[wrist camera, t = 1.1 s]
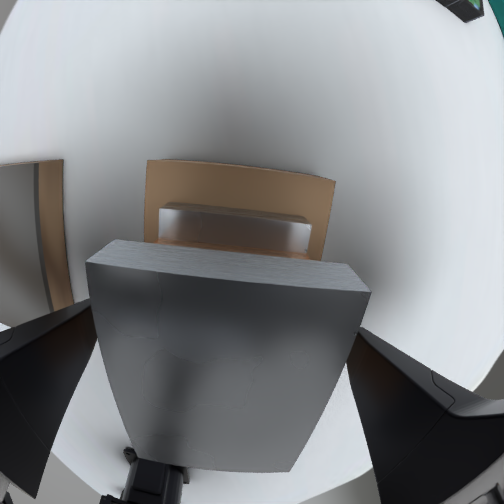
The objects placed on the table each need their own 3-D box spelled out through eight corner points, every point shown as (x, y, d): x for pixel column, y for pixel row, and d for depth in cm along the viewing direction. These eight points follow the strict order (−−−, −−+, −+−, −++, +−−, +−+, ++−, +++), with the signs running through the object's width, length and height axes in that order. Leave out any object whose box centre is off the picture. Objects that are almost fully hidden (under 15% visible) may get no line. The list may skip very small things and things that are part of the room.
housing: (274, 361, 12) (289, 472, 7) (169, 351, 12) (137, 457, 6) (303, 216, 10) (371, 291, 4) (169, 201, 10) (84, 261, 4)
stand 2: (283, 352, 15) (288, 382, 13) (163, 340, 15) (152, 369, 13) (318, 176, 12) (335, 181, 10) (165, 159, 12) (147, 160, 9)
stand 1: (77, 323, 14) (59, 345, 12) (10, 302, 14) (-8, 318, 12) (63, 159, 11) (33, 163, 9) (-7, 166, 11) (-33, 171, 8)
